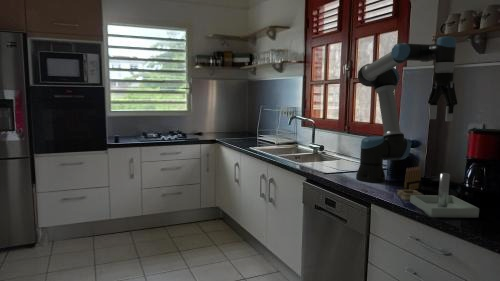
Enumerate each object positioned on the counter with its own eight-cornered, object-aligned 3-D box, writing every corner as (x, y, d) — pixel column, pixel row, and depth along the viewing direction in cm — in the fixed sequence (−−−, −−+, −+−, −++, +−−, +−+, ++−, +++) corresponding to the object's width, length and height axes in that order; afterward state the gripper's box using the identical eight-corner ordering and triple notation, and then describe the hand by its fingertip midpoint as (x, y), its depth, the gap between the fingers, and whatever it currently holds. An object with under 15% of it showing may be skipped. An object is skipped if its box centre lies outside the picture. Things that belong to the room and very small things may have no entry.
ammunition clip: (417, 189, 179) (419, 165, 177) (421, 190, 177) (422, 166, 176) (403, 192, 174) (404, 167, 172) (406, 193, 172) (407, 168, 171)
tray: (409, 203, 155) (410, 195, 155) (451, 203, 156) (452, 195, 155) (431, 217, 138) (431, 208, 137) (478, 217, 138) (479, 208, 137)
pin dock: (397, 196, 166) (397, 189, 166) (414, 196, 166) (414, 189, 166) (404, 201, 158) (405, 194, 158) (422, 201, 159) (423, 194, 158)
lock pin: (435, 206, 148) (438, 172, 147) (444, 206, 148) (446, 172, 147) (440, 209, 145) (442, 174, 143) (449, 209, 145) (451, 174, 143)
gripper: (469, 70, 150) (465, 122, 153) (437, 74, 175) (434, 118, 178) (451, 70, 150) (447, 122, 153) (422, 74, 175) (419, 118, 178)
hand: (440, 120), depth 165 cm, fingers open, 13 cm apart
